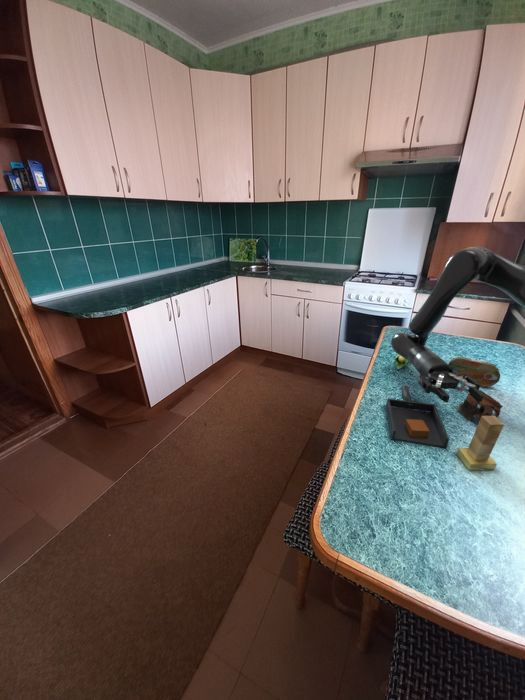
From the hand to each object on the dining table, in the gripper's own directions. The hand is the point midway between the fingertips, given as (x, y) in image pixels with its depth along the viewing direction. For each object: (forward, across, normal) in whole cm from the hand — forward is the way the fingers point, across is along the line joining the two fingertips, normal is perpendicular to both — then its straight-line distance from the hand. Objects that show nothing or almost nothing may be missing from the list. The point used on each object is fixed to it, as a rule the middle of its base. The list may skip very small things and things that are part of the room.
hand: (464, 399), depth 74 cm
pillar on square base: (+10, 0, +12) cm, 15 cm away
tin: (-25, +21, +12) cm, 35 cm away
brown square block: (0, -10, +11) cm, 15 cm away
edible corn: (-42, +5, +12) cm, 44 cm away
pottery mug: (-7, +12, +12) cm, 18 cm away
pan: (-8, -8, +12) cm, 16 cm away
